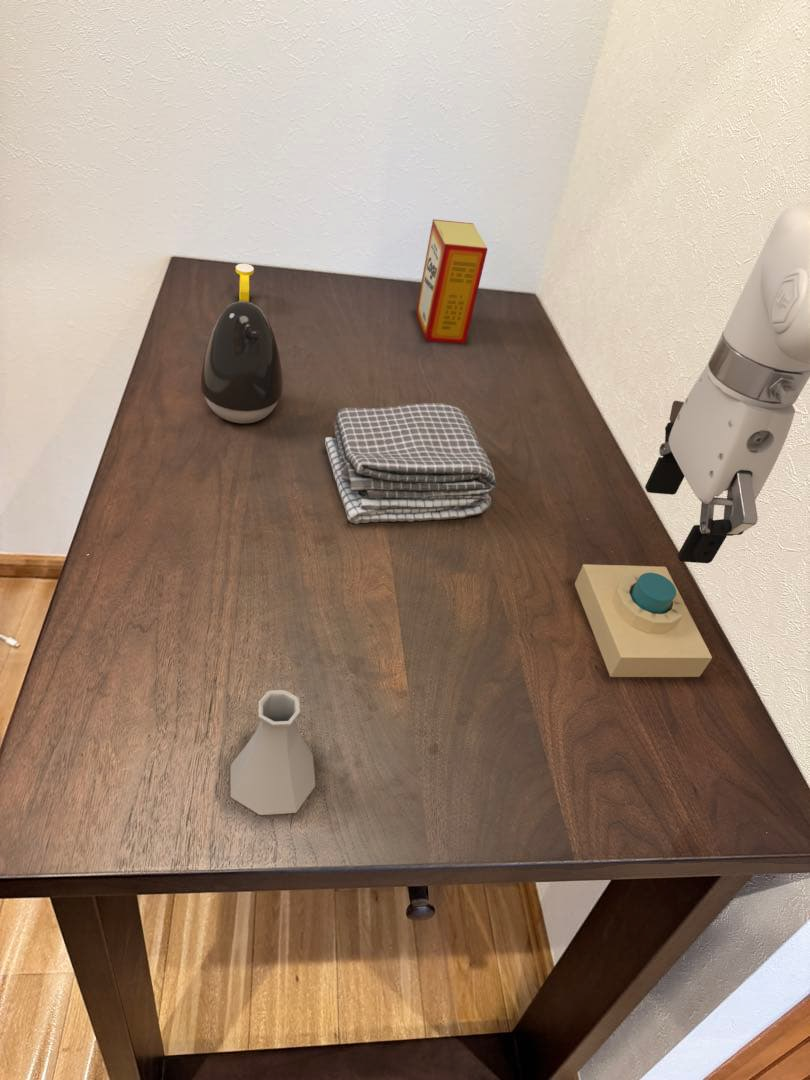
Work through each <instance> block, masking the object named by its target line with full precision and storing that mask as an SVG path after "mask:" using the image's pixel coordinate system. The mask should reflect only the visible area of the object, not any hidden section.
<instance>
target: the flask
mask: <svg viewBox="0 0 810 1080" xmlns="http://www.w3.org/2000/svg"><path fill="white" fill-rule="evenodd" d="M257 710H258V720H259V722H258V725H257V728H256V730H255V732H254V733H253V735H252V736H251V738H250V739H249V741H248V742H247V743H246V744H245V746H244V747H243V748H242V750H241V751H240V752H239V753H238V755H237V756H236V757H235V759H234V760H233V761H232V762H231V764H230V781H229V782H230V785H229V788H230V789H229V790H230V791H229V793H230V795H229V796H230V798H231V799H232V800H234V801H236V802H238V803H239V804H240V805H243V806H244V807H246V808H248V809H249V810H250V811H252V812H254V813H256V815H259V816H266V815H267V816H268V815H269V816H270V815H284V814H285V815H287V814H297V812H298V811H299V809H300V808H301V807H302V805H303V804H304V803H305V801H306V800H307V798H308V797H309V795H310V794H311V792H312V791H313V790H314V789H315V787H316V776H315V764H314V755H313V753H312V751H311V749H310V748H309V746H308V745H307V743H306V742H305V740H304V738H303V737H302V734H301V733H300V731H299V729H298V727H297V724H296V720H297V719H298V717H299V716H300V714H301V705H300V697H299V696H297V695H295V694H293V693H291V692H290V691H288V690H286V689H277V690H276V689H275V690H273V689H272V690H271V689H270V690H267V692H266V693H265V694H264V695H263V696H262V697H261V698H260V699H259V700H258V705H257Z"/></svg>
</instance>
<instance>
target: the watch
mask: <svg viewBox="0 0 810 1080" xmlns="http://www.w3.org/2000/svg"><path fill="white" fill-rule="evenodd" d="M235 273H236V274H237V275H239V285H238V286H239V297H238V298H239V300H238V302H239V301H245V302H250V276H253V275H254V273H255V268H254V266H253V265H251V264H248V263H239V264H237V265H235Z"/></svg>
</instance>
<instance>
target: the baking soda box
mask: <svg viewBox="0 0 810 1080" xmlns="http://www.w3.org/2000/svg"><path fill="white" fill-rule="evenodd" d="M431 222H432V223H431V228H430V234H429V238H428V244H427V248H426V249H427V250H426V256H425V261H424V266H423V270H422V271H423V272H422V276H421V283H420V288H419V294H418V299H417V304H416V310H415V314H416V317H417V320H418V322H419V325H420V328H421V331H422V334H423V336H424V339H425V341H426V342H433V343H434V342H435V343H451V344H466V342H467V338H468V334H469V331H470V330H469V329H470V325H471V321H472V317H473V313H474V308H475V304H476V300H477V295H478V291H479V287H480V283H481V280H482V274H483V270H484V266H485V262H486V257H487V253H488V247H487V245H486V244H485V242H484V239H483V238H482V236H481V235H480V233H479V231H478V229H477V227H476V226H475V223H472V222H463V221H452V220H445V219H443V220H442V219H434V218H433V219H432V221H431Z"/></svg>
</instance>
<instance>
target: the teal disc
mask: <svg viewBox="0 0 810 1080" xmlns="http://www.w3.org/2000/svg"><path fill="white" fill-rule="evenodd" d="M675 586H676V585H675ZM675 586H674V585H673V583H672V582H671V581H670V580H668V579H667V578H666V577H664V576H662V575H659V574H656V573H645V574H642V575H641V576H640V577H639V579H638V580H637V582H636V584H635V586H634V588H633V590H632V593H631V595H632V599H633V601H634V603H635V604H637V605H638V606H639V607H640V608H641V609H643V610H645V611H648V612H650V613H653V614H661V613H664V612H666V611H667V610H668V608H669V606H670V605H671V603H672V601H673V599H674V598H675V596H676V589H675Z"/></svg>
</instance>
